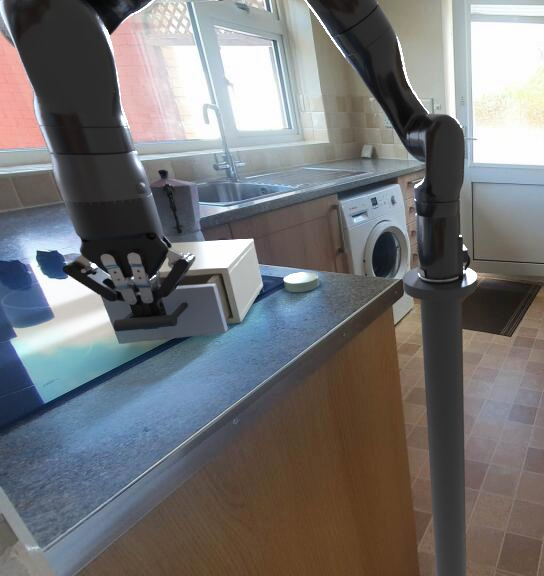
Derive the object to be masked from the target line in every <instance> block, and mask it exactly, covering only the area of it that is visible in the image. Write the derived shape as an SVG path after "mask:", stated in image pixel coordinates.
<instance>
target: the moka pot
mask: <svg viewBox="0 0 544 576" xmlns="http://www.w3.org/2000/svg"><path fill="white" fill-rule="evenodd" d="M157 173H158V175H159V176H160V177H159V178H158V179H155V180H151V181H148V182H149V185H150V188H151V192H152V195H153V198H154V202H155V205H156V208H157V212H158V215H159V218H160V222H161V225H162V231H163V234H164V236H165V237H166V238H167V239H168V240H169V241H170V243H182V242H203V241H206V239H205V237H204V235H203V232H202V231H201V223H200V221H201V219H202V217H201V210H200V209H201V208H200V197H199V191H198V190H199V188H198V184H197V183H196V182H191V181H186V180H180V179H173V178H169V170H166V169H159V170H157Z"/></svg>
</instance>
